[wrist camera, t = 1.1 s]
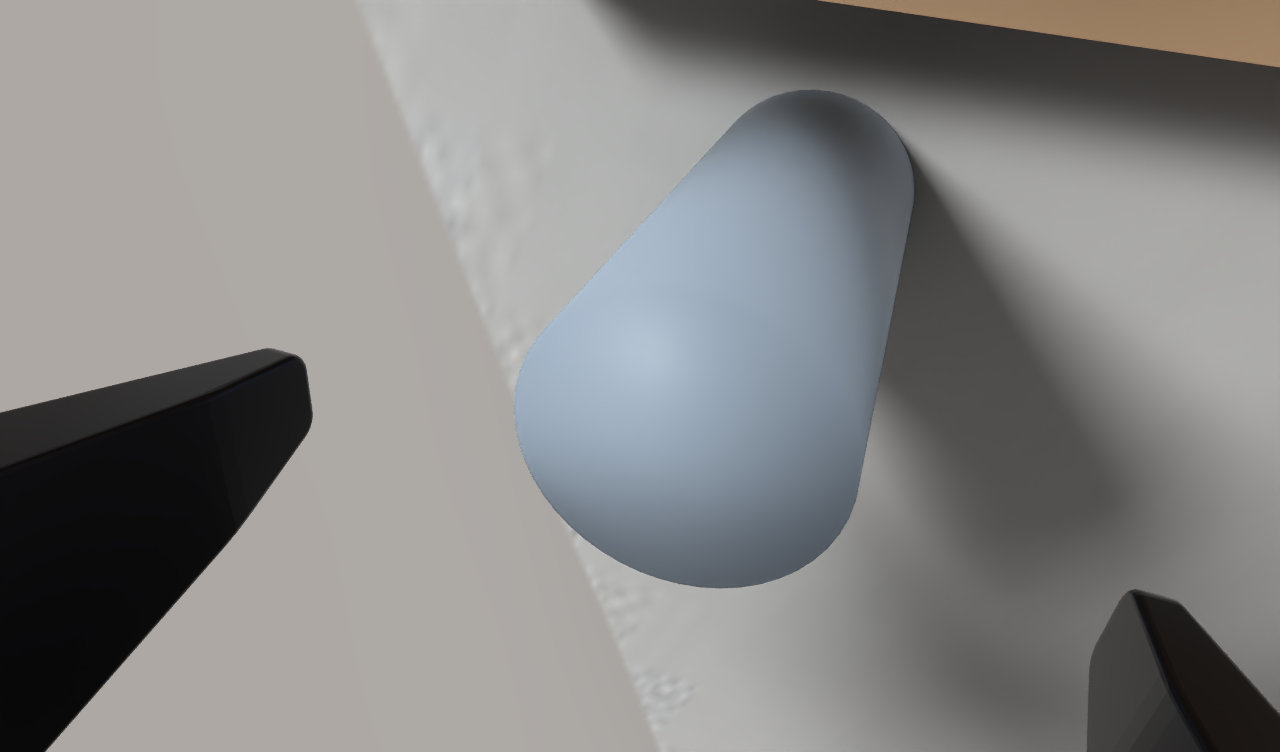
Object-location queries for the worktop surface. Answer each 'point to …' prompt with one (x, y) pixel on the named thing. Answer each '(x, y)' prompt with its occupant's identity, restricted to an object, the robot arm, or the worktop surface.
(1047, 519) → the worktop surface
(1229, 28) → the socket board
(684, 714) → the worktop surface
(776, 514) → the peg
